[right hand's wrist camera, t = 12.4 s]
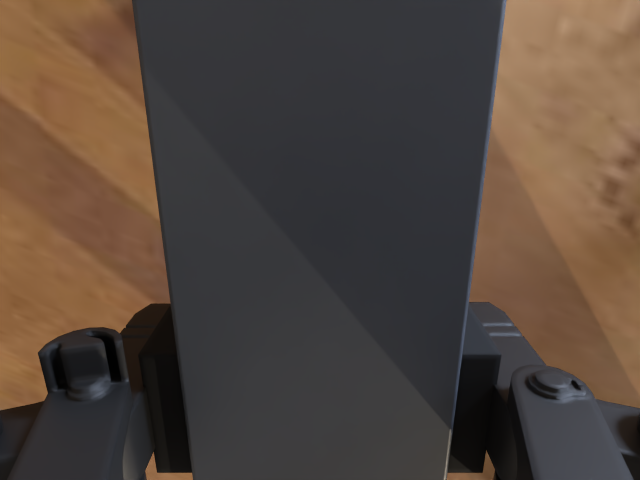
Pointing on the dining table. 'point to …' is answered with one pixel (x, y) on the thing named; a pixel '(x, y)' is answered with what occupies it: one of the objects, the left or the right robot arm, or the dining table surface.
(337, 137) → the beam
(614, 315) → the dining table surface
